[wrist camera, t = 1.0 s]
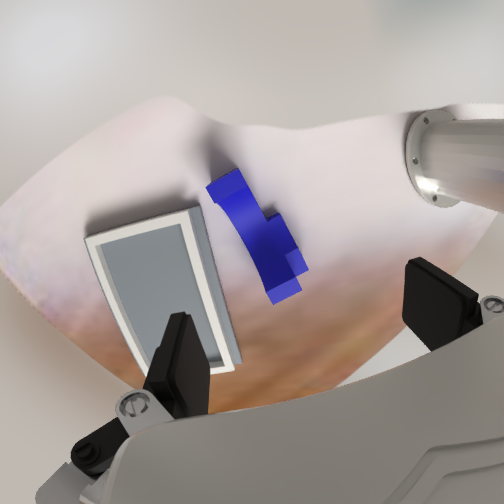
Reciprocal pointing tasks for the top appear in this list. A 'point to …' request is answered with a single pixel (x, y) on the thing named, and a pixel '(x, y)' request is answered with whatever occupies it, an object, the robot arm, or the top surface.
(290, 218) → the top surface
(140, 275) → the shallow rectangular tray
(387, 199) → the top surface
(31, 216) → the top surface
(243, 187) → the blue long irregular block
